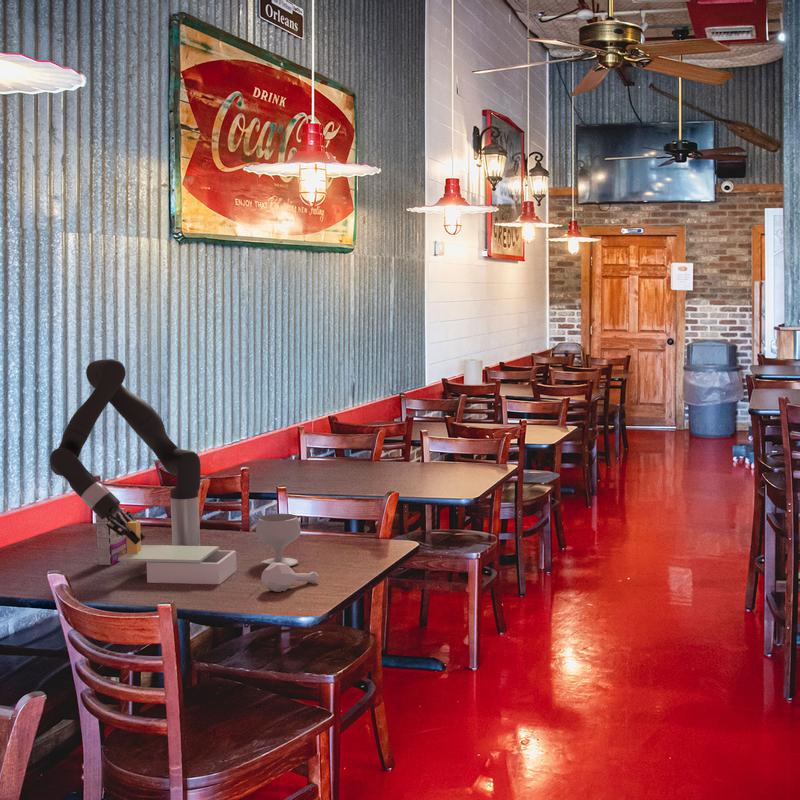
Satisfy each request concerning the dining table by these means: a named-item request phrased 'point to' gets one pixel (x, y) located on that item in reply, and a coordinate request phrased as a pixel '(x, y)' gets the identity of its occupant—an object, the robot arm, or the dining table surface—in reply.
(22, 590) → the dining table surface
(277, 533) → the chalice
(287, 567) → the chicken leg
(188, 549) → the lid
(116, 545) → the candy bar box
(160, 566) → the tub
